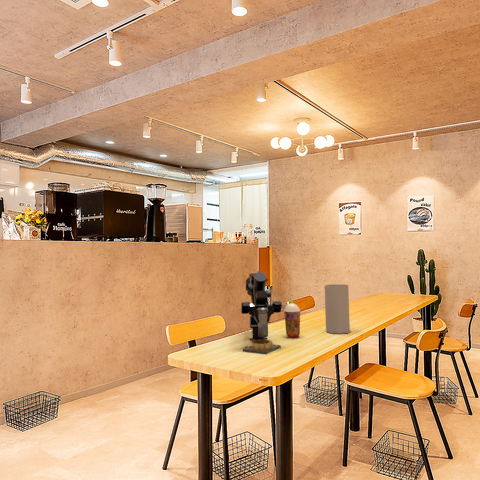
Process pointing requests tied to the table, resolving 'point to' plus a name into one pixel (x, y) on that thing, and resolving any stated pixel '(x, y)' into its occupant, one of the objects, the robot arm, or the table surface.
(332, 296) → the cylinder vase
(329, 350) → the table surface
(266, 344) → the ring collar
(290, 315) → the smoothie
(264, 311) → the piston
